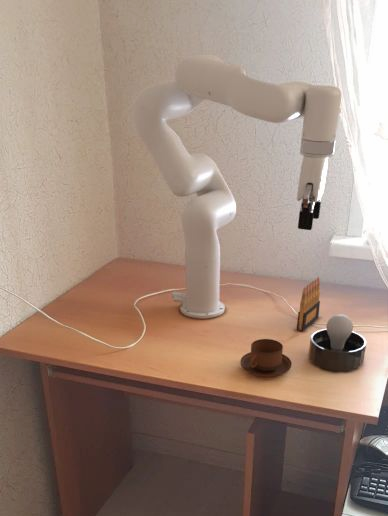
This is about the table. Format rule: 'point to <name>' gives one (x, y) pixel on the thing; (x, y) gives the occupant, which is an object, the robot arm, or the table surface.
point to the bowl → (337, 352)
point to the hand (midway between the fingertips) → (308, 223)
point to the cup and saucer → (266, 359)
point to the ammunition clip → (309, 305)
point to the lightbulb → (339, 331)
